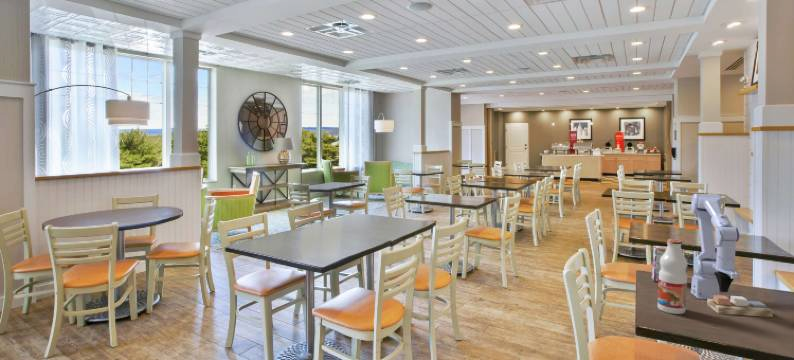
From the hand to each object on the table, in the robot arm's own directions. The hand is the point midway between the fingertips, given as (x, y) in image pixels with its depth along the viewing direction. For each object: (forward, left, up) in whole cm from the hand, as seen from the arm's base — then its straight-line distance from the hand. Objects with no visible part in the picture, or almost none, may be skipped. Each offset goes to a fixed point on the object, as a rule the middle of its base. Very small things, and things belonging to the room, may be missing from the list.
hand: (723, 291), depth 170 cm
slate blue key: (+11, 0, -6) cm, 13 cm away
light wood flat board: (+5, 0, -7) cm, 9 cm away
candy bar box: (-9, +33, -8) cm, 35 cm away
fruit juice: (-20, -4, -8) cm, 21 cm away
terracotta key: (-1, 0, -5) cm, 5 cm away
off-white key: (+5, 0, -5) cm, 7 cm away
